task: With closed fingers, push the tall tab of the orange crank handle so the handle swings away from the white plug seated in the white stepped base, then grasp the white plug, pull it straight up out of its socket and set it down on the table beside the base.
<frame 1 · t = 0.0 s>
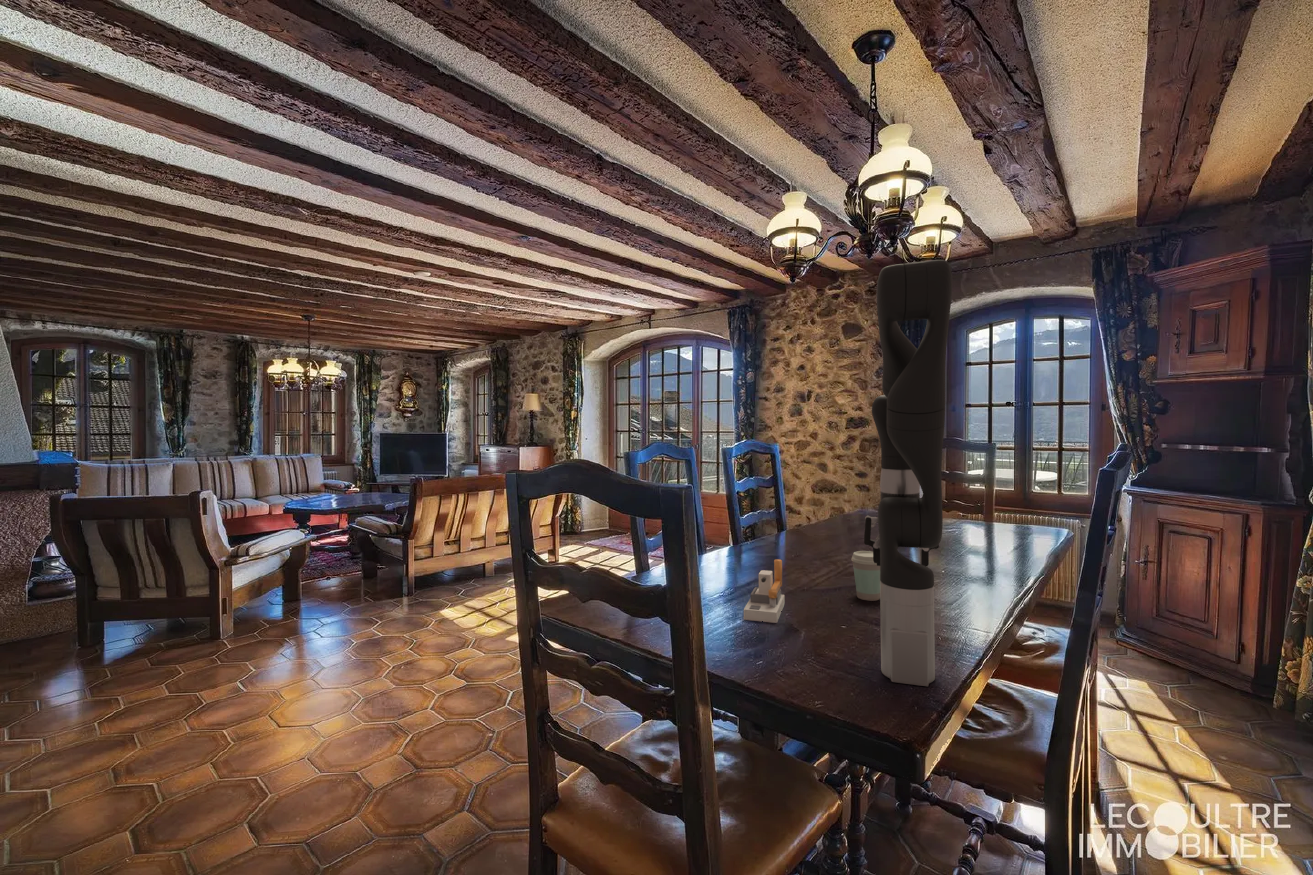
hand: (900, 566, 115), 17 cm above the table, tool pointing down, fingers open, 8 cm apart
crank handle: (775, 577, 142), point 8 cm above the table, hinge at 0.0°
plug: (766, 599, 142), point 2 cm above the table, touching white stepped base
coffee cup: (868, 598, 150), on the table
white stepped base: (764, 611, 140), on the table
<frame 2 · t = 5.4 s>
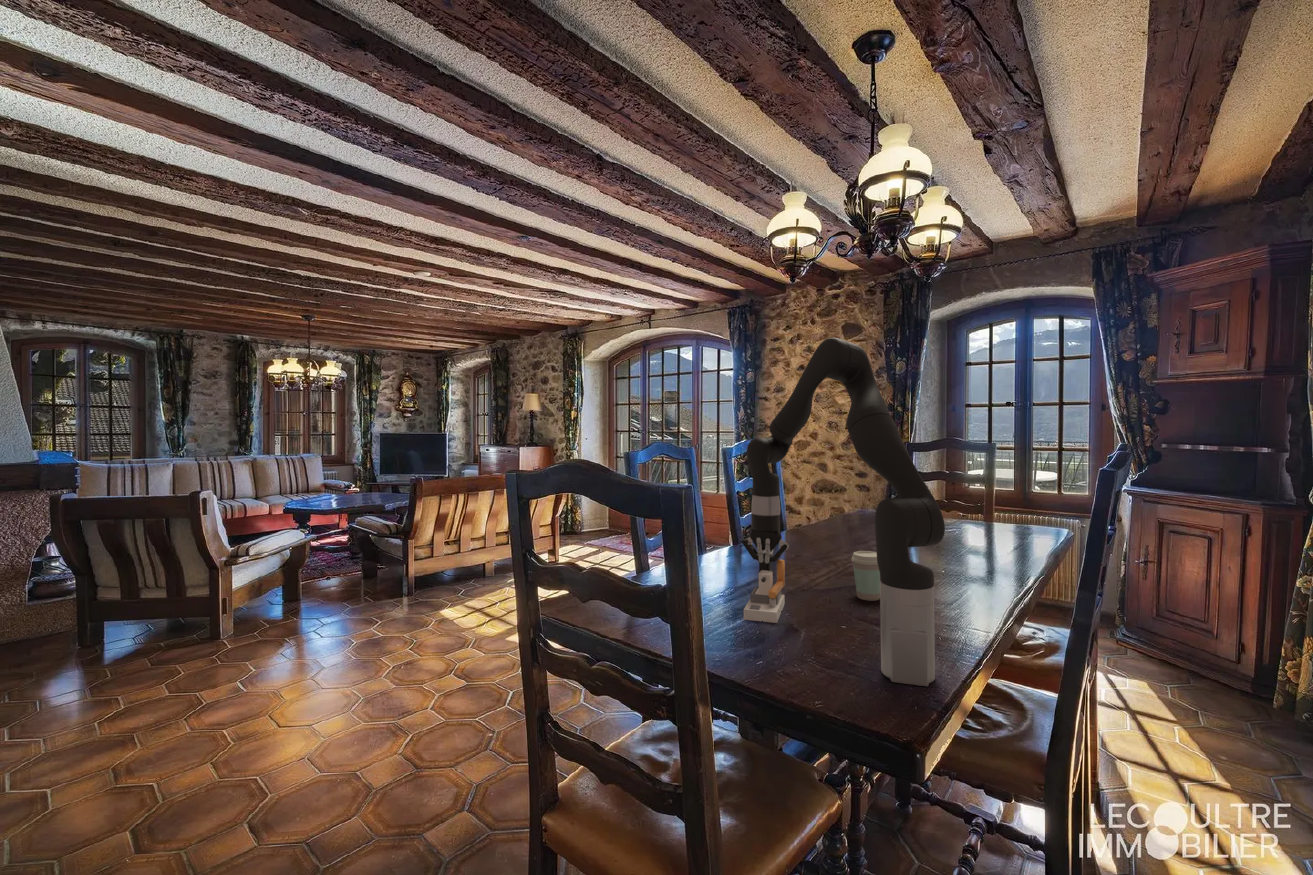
hand: (765, 576, 147), 7 cm above the table, tool pointing down, fingers closed
crank handle: (777, 577, 142), point 8 cm above the table, hinge at -3.8°, touching gripper, hand
everything else where it was.
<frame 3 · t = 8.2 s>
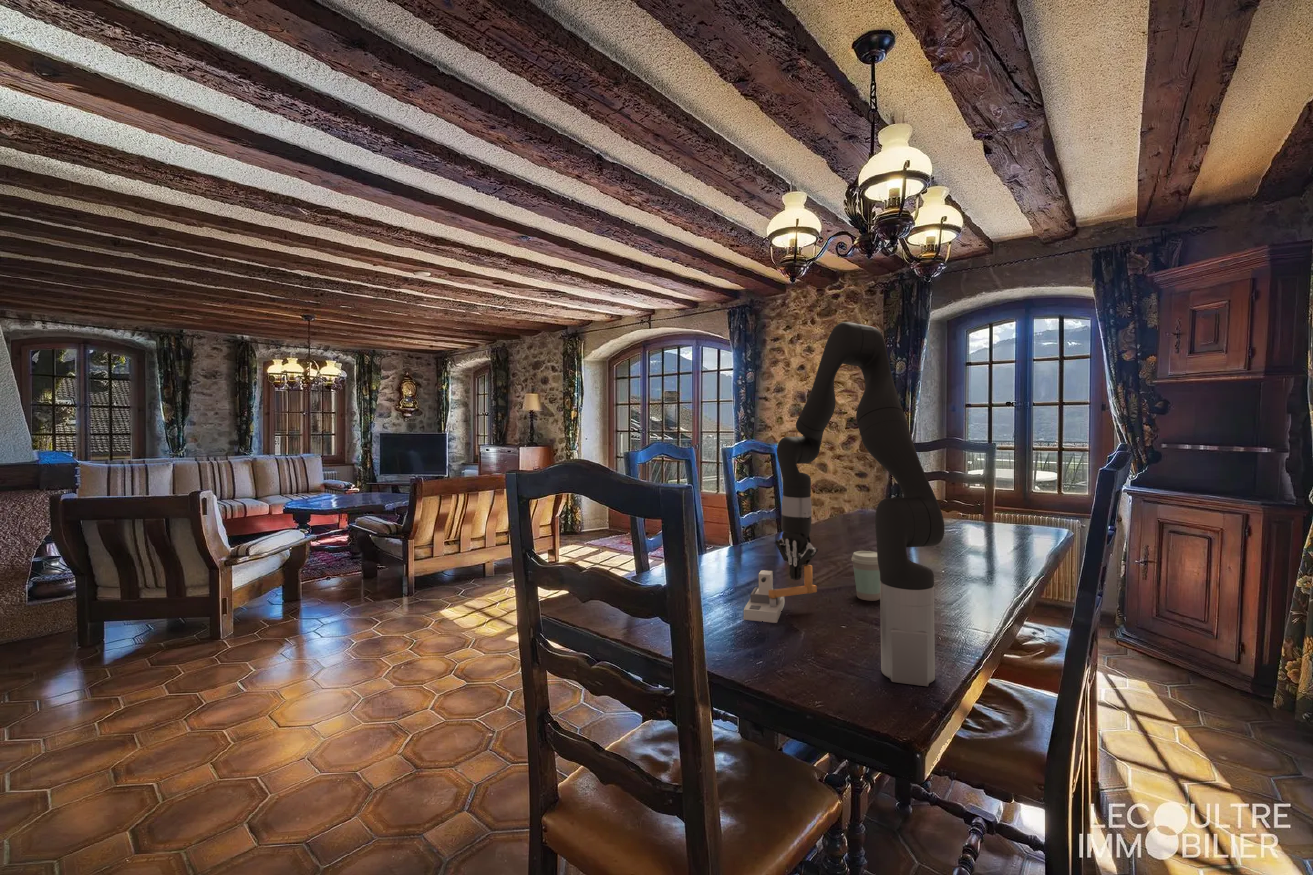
hand: (795, 579, 143), 7 cm above the table, tool pointing down, fingers closed
crank handle: (792, 580, 138), point 8 cm above the table, hinge at -50.3°, touching gripper
everything else where it was.
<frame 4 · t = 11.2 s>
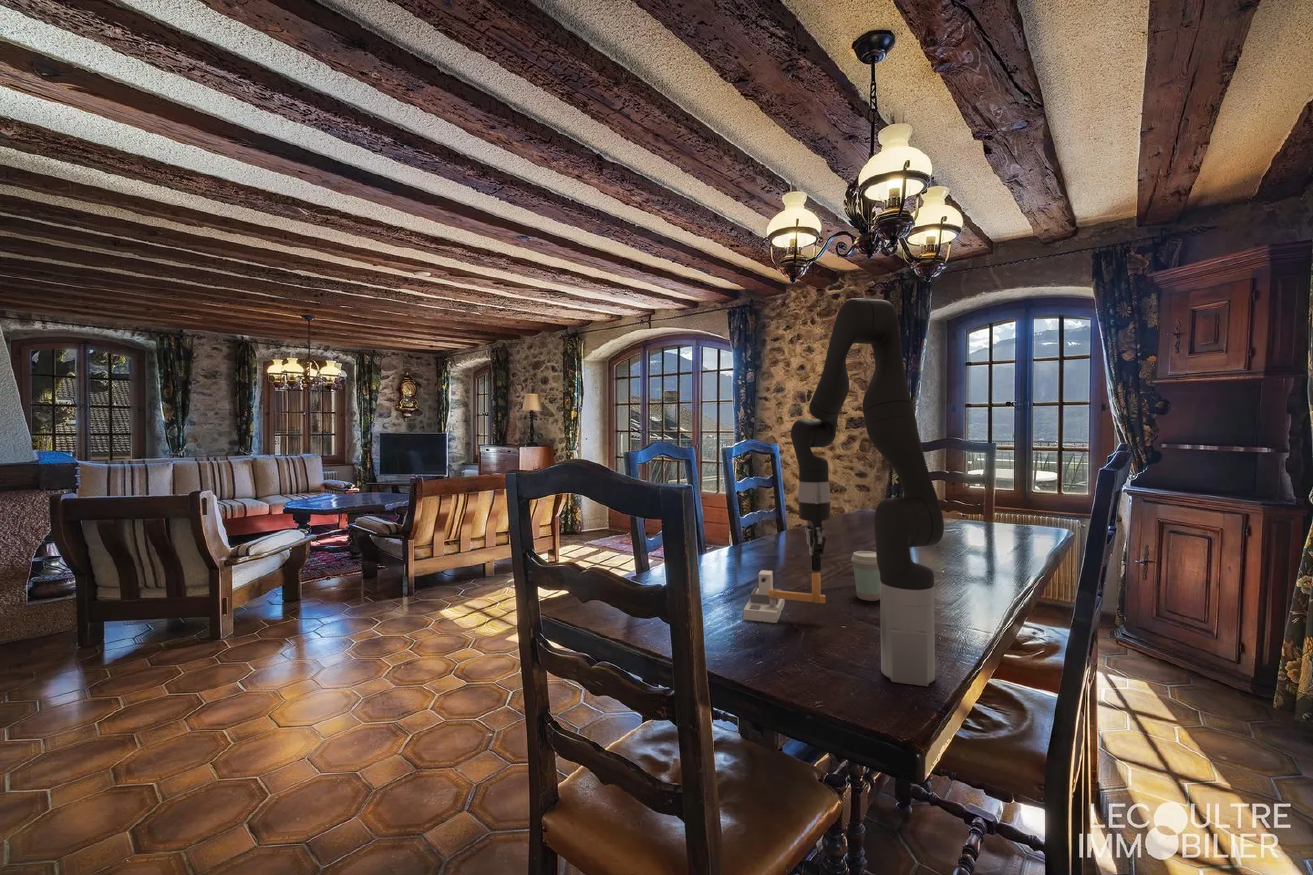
hand: (815, 570, 135), 12 cm above the table, tool pointing down, fingers closed
crank handle: (796, 585, 134), point 8 cm above the table, hinge at -93.0°
everything else where it was.
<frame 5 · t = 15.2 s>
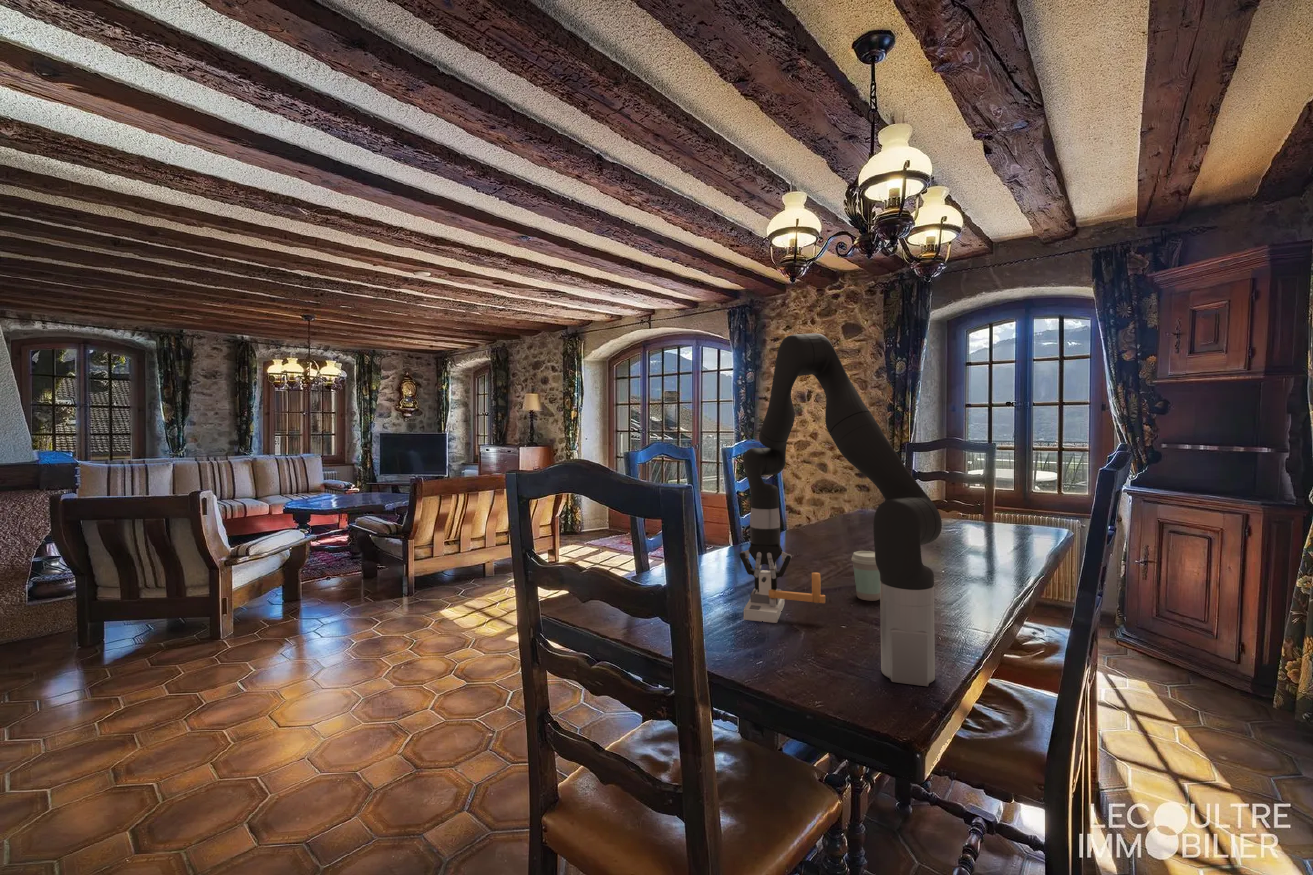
hand: (766, 591, 142), 5 cm above the table, tool pointing down, fingers closed on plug, 3 cm apart
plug: (766, 599, 142), point 3 cm above the table, touching gripper
everything else where it was.
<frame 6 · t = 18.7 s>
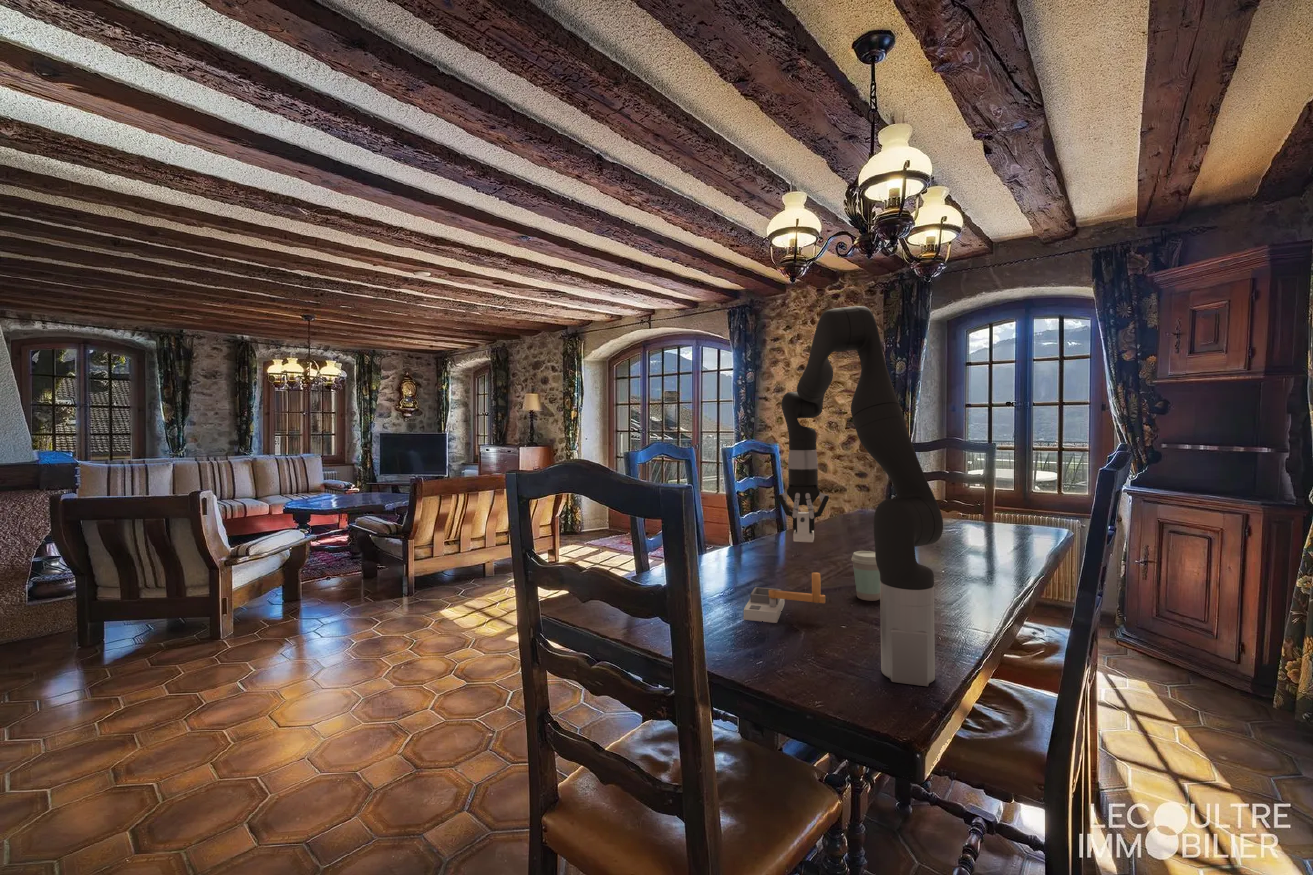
hand: (803, 531, 146), 19 cm above the table, tool pointing down, fingers closed on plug, 3 cm apart
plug: (803, 539, 146), point 17 cm above the table, touching gripper
everything else where it was.
when the fingers open (4 cm above the table, at t = 22.1 s): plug drops 2 cm, on the table.
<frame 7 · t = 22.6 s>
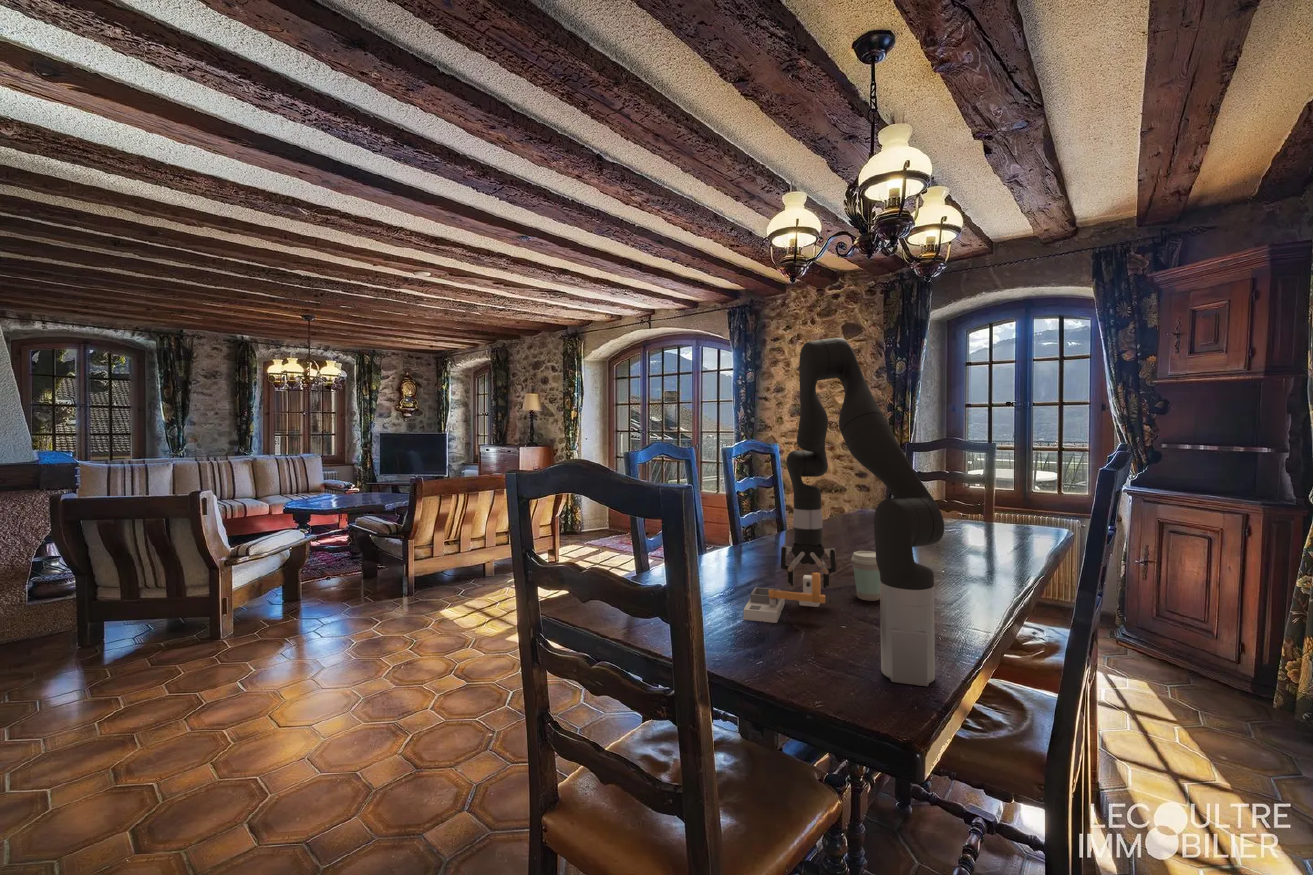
hand: (808, 586, 146), 5 cm above the table, tool pointing down, fingers open, 8 cm apart
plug: (809, 603, 146), on the table
everything else where it was.
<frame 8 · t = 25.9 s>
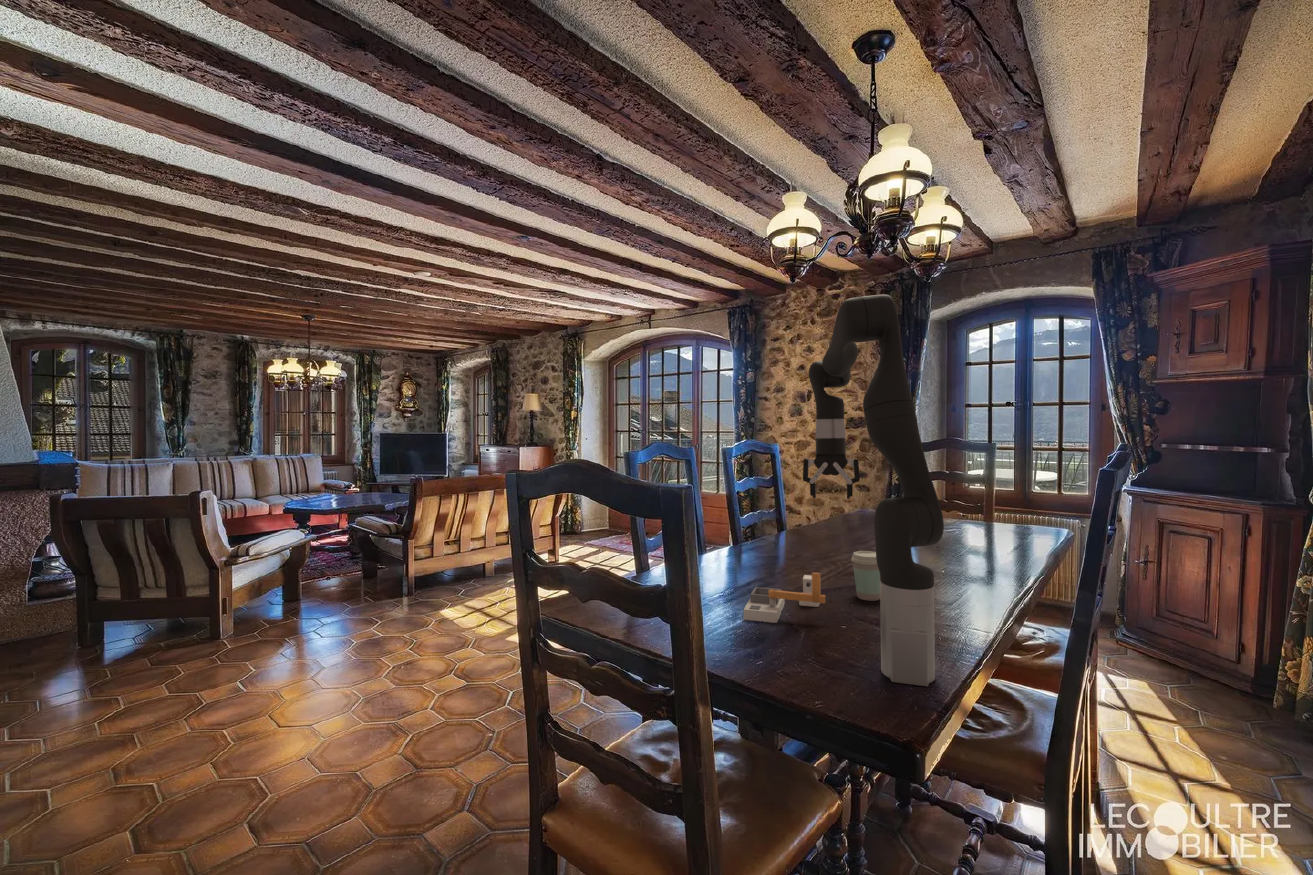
hand: (831, 498, 145), 28 cm above the table, tool pointing down, fingers open, 8 cm apart
nothing on the table moved.
at the end: crank handle at -93° (first picture: +0°); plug inside the target area (0.5 cm from its centre), on the table; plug tilted 0° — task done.
